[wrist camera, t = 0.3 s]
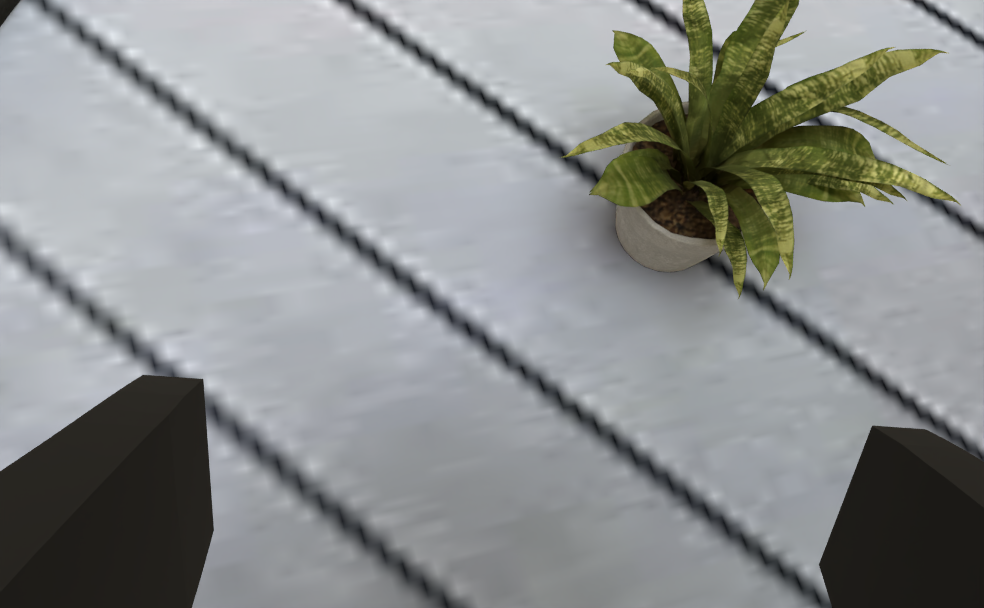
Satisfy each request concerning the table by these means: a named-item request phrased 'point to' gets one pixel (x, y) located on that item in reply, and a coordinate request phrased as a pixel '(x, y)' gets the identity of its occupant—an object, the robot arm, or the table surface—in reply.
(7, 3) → the soda box
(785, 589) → the table surface
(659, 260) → the house plant
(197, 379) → the robot arm
